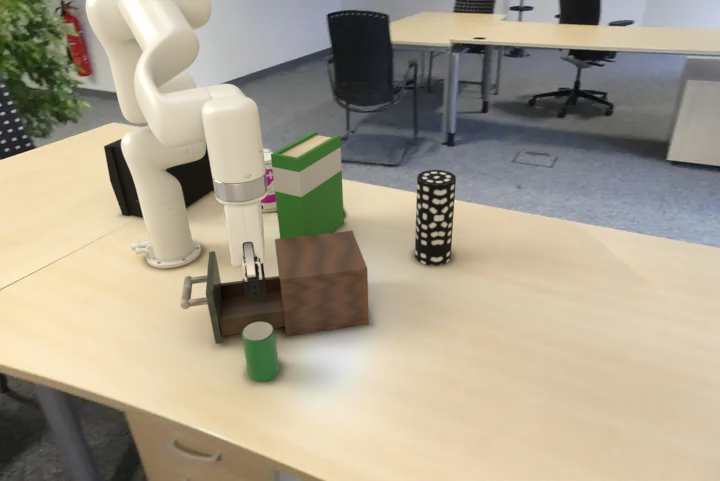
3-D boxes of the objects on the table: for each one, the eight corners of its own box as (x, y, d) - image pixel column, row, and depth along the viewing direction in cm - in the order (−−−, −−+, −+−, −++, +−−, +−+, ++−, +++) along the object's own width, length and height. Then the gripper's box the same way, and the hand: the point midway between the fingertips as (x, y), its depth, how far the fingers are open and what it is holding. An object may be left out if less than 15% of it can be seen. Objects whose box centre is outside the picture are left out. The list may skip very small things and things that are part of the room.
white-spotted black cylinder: (427, 243, 133) (430, 167, 123) (457, 254, 128) (463, 175, 118) (407, 257, 127) (409, 178, 117) (438, 269, 123) (442, 188, 113)
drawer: (186, 347, 100) (174, 297, 95) (192, 301, 113) (182, 254, 107) (301, 331, 104) (297, 281, 98) (294, 288, 116) (289, 242, 111)
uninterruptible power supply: (119, 214, 151) (100, 145, 141) (195, 170, 178) (184, 110, 168) (166, 223, 145) (150, 152, 135) (237, 177, 172) (228, 114, 162)
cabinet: (286, 336, 104) (279, 279, 97) (280, 292, 116) (274, 239, 110) (368, 324, 106) (367, 268, 100) (354, 282, 119) (352, 230, 112)
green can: (248, 384, 93) (241, 343, 88) (247, 363, 97) (241, 323, 93) (280, 379, 94) (275, 338, 89) (278, 358, 98) (273, 318, 94)
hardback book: (320, 217, 146) (314, 131, 134) (343, 223, 143) (340, 135, 131) (281, 247, 133) (270, 154, 121) (306, 254, 130) (298, 159, 118)
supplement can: (282, 213, 149) (276, 161, 142) (252, 213, 149) (245, 162, 142) (286, 200, 156) (281, 150, 149) (258, 200, 156) (251, 151, 149)
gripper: (215, 166, 85) (232, 265, 94) (212, 214, 70) (231, 325, 79) (264, 161, 86) (276, 260, 95) (270, 207, 71) (283, 318, 81)
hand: (255, 288), depth 87 cm, fingers open, 4 cm apart
